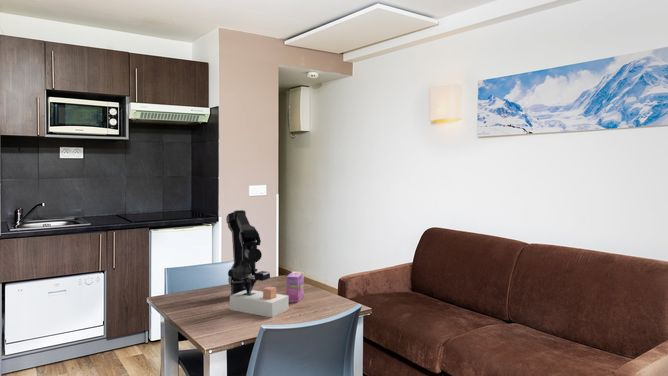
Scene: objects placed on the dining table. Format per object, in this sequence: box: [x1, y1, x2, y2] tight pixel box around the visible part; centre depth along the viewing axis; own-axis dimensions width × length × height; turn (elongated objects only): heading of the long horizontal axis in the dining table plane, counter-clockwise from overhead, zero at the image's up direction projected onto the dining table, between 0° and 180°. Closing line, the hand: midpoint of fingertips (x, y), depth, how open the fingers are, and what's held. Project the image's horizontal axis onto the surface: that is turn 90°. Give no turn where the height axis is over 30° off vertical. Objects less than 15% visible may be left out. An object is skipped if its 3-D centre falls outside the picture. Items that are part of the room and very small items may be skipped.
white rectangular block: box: [229, 289, 290, 318], centre depth 195 cm, size 22×12×6 cm, turn 63°
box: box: [285, 271, 305, 303], centre depth 211 cm, size 10×6×12 cm, turn 168°
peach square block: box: [262, 285, 277, 299], centre depth 192 cm, size 4×4×6 cm
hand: (248, 293), depth 197 cm, fingers closed, pressing on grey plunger
